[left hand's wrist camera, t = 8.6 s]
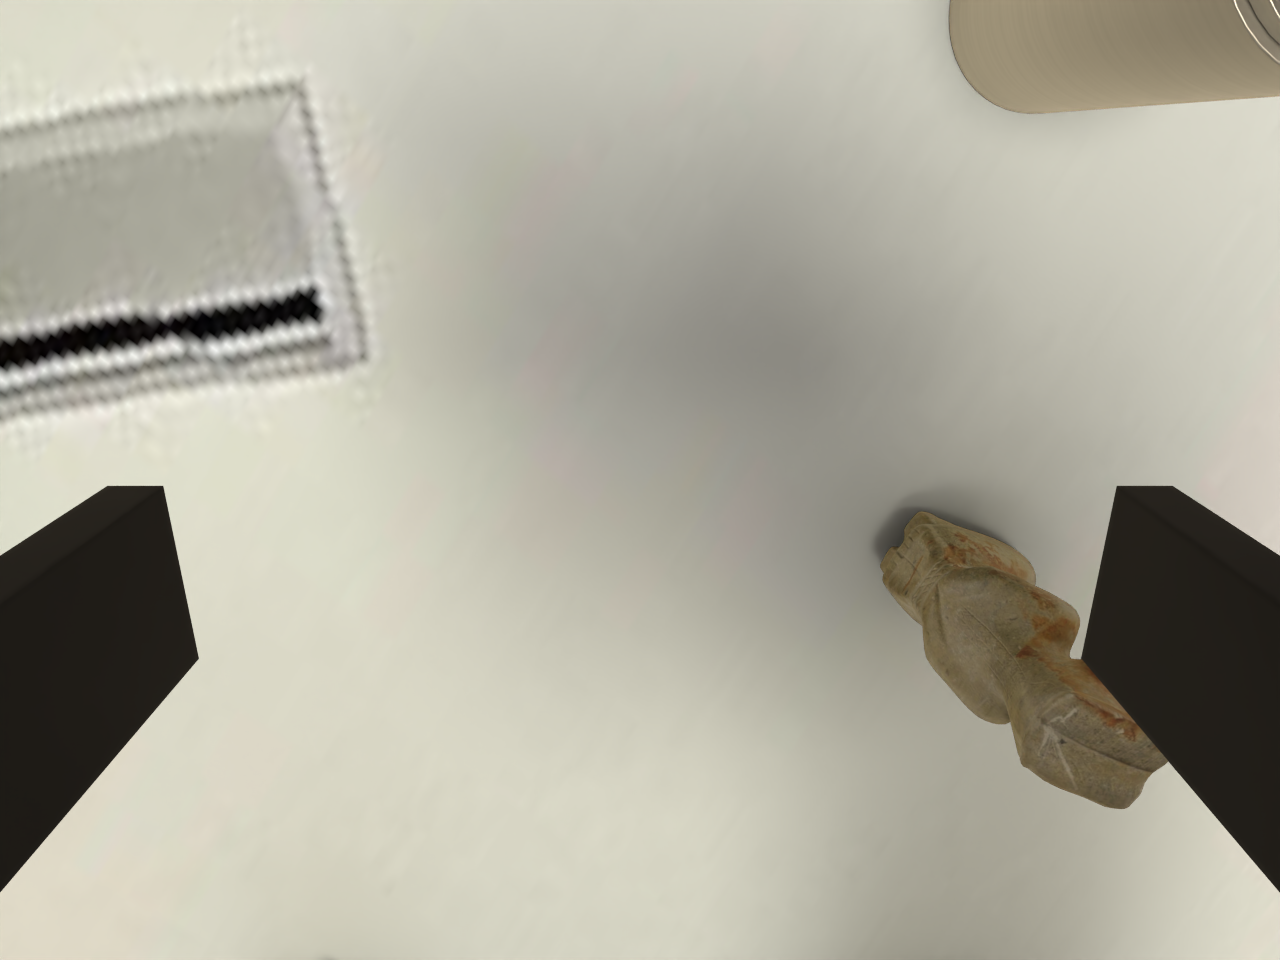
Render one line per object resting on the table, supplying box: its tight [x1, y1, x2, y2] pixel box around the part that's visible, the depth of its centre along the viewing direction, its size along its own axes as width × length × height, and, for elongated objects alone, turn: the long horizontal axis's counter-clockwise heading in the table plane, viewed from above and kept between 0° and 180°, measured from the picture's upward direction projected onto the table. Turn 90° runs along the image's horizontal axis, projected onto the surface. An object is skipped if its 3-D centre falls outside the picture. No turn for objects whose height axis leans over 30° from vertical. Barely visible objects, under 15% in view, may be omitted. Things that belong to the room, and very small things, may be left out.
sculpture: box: [880, 511, 1168, 809], centre depth 37 cm, size 6×7×15 cm
